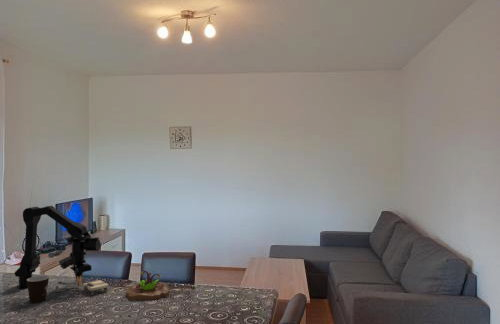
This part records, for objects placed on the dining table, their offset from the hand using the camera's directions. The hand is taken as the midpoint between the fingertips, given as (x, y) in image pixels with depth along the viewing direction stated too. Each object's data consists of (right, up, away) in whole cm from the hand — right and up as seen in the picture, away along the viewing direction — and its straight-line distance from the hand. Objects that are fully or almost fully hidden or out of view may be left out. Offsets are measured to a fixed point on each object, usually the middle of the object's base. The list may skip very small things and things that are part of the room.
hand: (77, 281), depth 183 cm
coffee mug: (-8, -3, -18) cm, 20 cm away
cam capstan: (-3, -2, -5) cm, 6 cm away
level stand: (+9, -2, -7) cm, 12 cm away
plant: (+38, -3, -10) cm, 39 cm away
